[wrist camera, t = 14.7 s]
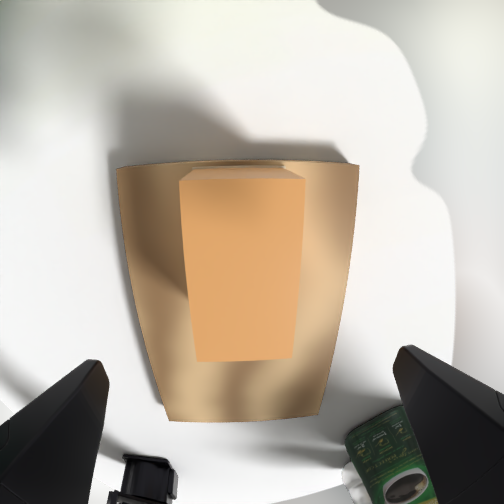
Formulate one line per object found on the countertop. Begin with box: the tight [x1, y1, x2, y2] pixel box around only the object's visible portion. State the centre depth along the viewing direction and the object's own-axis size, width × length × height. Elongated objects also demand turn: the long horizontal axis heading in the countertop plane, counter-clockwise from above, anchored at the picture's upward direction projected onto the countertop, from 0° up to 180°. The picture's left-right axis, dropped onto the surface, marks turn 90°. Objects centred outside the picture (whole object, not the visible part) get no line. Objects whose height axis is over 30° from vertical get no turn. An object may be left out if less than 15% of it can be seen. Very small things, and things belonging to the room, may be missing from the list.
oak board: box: [116, 160, 359, 422], centre depth 20 cm, size 14×22×2 cm, turn 0°
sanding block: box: [179, 166, 306, 362], centre depth 14 cm, size 5×9×5 cm, turn 0°
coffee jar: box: [345, 406, 438, 504], centre depth 20 cm, size 10×8×19 cm
